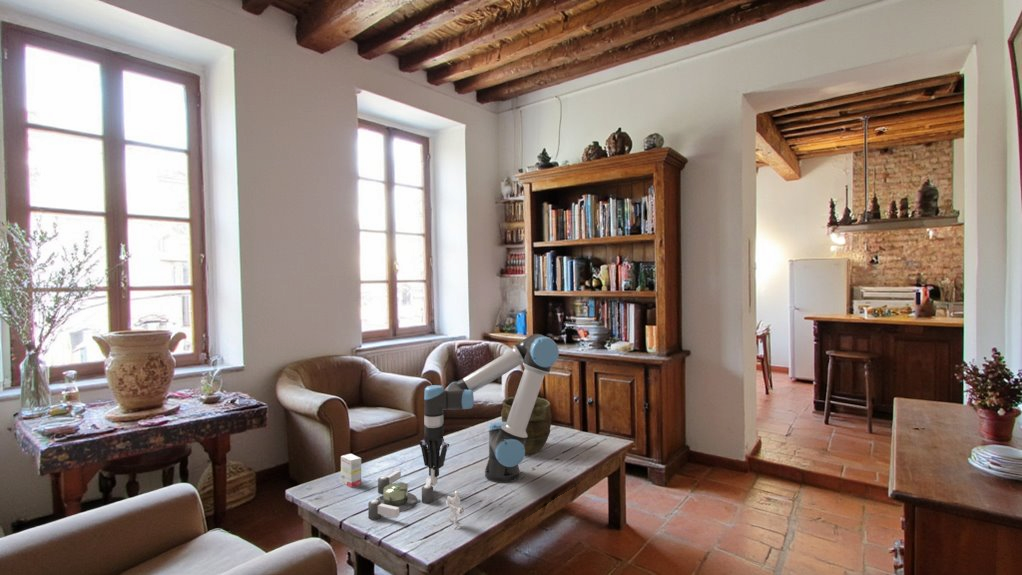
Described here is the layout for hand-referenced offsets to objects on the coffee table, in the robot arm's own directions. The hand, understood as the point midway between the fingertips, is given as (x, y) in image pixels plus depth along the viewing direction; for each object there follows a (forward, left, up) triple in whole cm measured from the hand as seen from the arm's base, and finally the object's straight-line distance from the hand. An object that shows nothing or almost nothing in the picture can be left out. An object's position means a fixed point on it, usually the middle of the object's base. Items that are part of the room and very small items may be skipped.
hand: (434, 484), depth 191 cm
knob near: (+1, +4, -4) cm, 5 cm away
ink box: (+37, +6, -5) cm, 38 cm away
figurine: (-20, +18, -5) cm, 27 cm away
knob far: (+19, +3, -4) cm, 20 cm away
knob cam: (+5, +25, -4) cm, 26 cm away
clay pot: (-15, -61, -5) cm, 63 cm away
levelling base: (+9, +16, -4) cm, 19 cm away
